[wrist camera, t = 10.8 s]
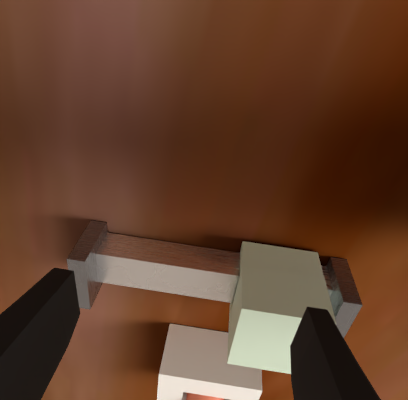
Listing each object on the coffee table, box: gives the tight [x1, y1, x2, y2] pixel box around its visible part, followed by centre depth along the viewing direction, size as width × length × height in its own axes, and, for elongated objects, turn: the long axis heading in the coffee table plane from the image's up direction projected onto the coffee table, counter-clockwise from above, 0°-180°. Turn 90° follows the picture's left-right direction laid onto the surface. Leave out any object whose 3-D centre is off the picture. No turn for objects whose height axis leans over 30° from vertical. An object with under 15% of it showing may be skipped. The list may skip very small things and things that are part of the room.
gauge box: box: [157, 324, 262, 400], centre depth 27 cm, size 7×7×4 cm
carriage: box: [227, 241, 336, 374], centre depth 20 cm, size 5×5×5 cm
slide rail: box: [67, 220, 362, 338], centre depth 21 cm, size 16×4×4 cm, turn 83°
